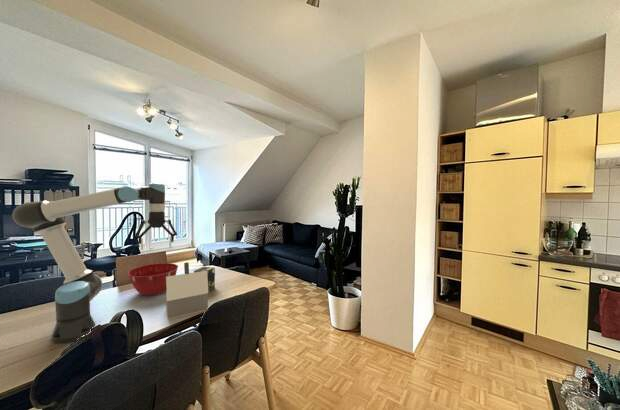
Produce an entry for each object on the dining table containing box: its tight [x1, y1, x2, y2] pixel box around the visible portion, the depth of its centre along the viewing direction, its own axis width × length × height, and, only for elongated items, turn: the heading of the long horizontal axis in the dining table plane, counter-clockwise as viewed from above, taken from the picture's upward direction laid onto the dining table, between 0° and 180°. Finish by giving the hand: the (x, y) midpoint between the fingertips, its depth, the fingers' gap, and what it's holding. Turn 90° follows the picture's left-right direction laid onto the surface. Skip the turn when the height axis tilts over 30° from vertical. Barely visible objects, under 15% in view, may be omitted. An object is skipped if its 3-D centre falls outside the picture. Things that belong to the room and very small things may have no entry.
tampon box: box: [193, 266, 216, 293], centre depth 172 cm, size 11×9×15 cm
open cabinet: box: [165, 292, 209, 320], centre depth 144 cm, size 20×12×10 cm, turn 123°
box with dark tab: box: [166, 262, 209, 301], centre depth 142 cm, size 21×18×6 cm
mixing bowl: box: [127, 262, 179, 297], centre depth 168 cm, size 28×28×16 cm
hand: (156, 248), depth 142 cm, fingers open, 13 cm apart
